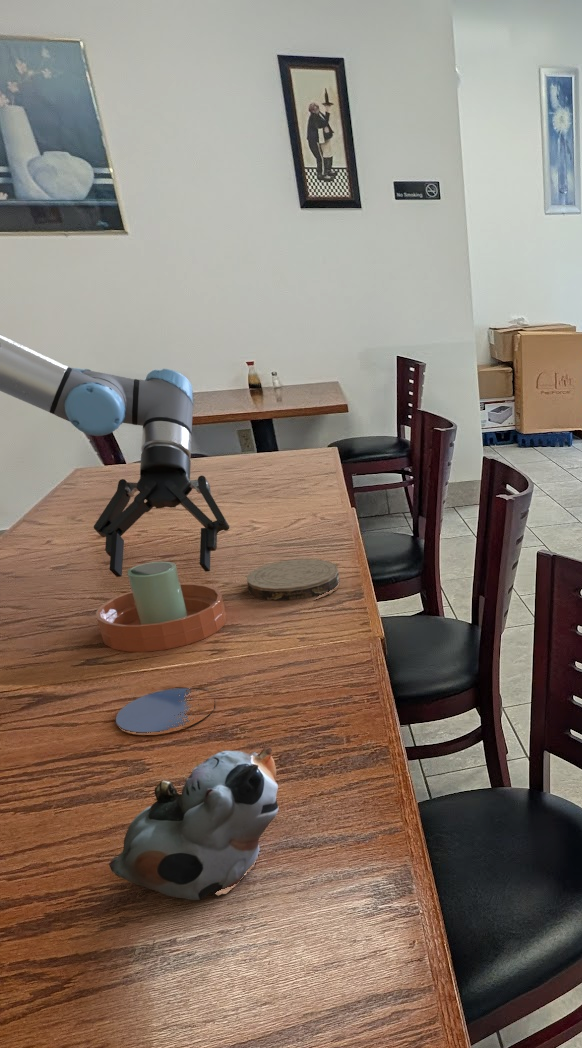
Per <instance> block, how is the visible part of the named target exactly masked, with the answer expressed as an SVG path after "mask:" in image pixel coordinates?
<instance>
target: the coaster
mask: <svg viewBox="0 0 582 1048" xmlns="http://www.w3.org/2000/svg"><path fill="white" fill-rule="evenodd" d="M189 688H191V689H192V688H193V687H176V688H169V689H164V690H163V689H162V690H158V691H154V692H151V693H147V694H146V695H143V696H140V697H137V698H136V699H134V700H132V701H130V702H129V703H127V704H125V705H124V706H123V707H122V708H121V709H119V711H118V712H117V714H116V716H115V724H116V726H117V725H118V727H120V728H121V729H123V730H125V731H130V732H136V733H147V732H148V733H149V732H150V733H151V732H160V731H164V730H168V729H170V728H173V727H179V725H180V724H182V726H183V723H186V722H189V721H190V720H189V721H188V720H187V719H188V718H187V717H188V716H189V715H188V716H186V717H185V716H184V715H185V714H186V711H187V710H188V708H189V706H186V705H189V704H190V703H189V704H186V702H187V699H186V701H184V700H185V698H186V696H185V693H186V695H188V694H189V693H188V692H189V691H190V690H189ZM186 690H187V691H188V692H186ZM196 691H197V690H196ZM190 693H191V691H190ZM179 695H180V696H179ZM184 696H185V698H184ZM189 696H190V695H189ZM187 698H189V697H187ZM190 699H191V698H190ZM179 701H180V702H179ZM181 701H182V702H181ZM188 701H189V700H188ZM187 703H188V702H187ZM184 704H185V705H184ZM198 705H199V704H198ZM185 706H186V707H185ZM190 706H191V705H190ZM187 707H188V708H187ZM190 708H191V707H190ZM185 709H187V710H185ZM184 710H185V712H184ZM189 710H190V709H189ZM180 712H181V713H180ZM182 712H183V713H182ZM187 712H188V711H187ZM189 712H190V711H189ZM184 713H185V714H184ZM178 714H179V715H178ZM180 714H181V715H180ZM174 715H175V716H174ZM186 715H187V714H186ZM181 716H182V717H181ZM183 716H184V717H183ZM190 716H191V715H190ZM177 717H178V718H177ZM179 717H180V718H179ZM183 718H187V719H185V720H187V721H185V722H184V719H183ZM177 719H178V720H177ZM182 719H183V720H182ZM169 720H170V721H169ZM171 720H172V721H171ZM193 720H194V719H193ZM180 721H181V722H180ZM182 721H183V722H182ZM176 722H177V723H176ZM178 722H179V723H178ZM178 724H179V725H178ZM172 725H173V726H172ZM174 725H175V726H174ZM184 725H185V724H184ZM166 726H167V727H166ZM168 726H169V727H168ZM180 726H181V725H180ZM118 727H117V728H118Z"/></svg>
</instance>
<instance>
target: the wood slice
mask: <svg viewBox="0 0 582 1048" xmlns="http://www.w3.org/2000/svg"><path fill="white" fill-rule="evenodd" d="M339 582H340V575H339V569H338V567H337V565H336V564H335V563H334V562H333V563H332V562H331V561H327V560H324V559H315V558H298V559H297V558H295V559H287V560H281V561H275V562H272V563H267V564H265V565H262V566H260V567H259V566H258V567H257V568H255V569H253V570H252V571H250V572H249V573H248V574H247V575H246V583H247V589H248V593H249V594H250V595H251V596H252V597H253V598H255V599H259V600H263V601H270V602H271V601H272V602H290V601H298V600H304V599H310V598H314V597H317V596H319V595H322V594H324V593H326V592H329V591H330V590H332V589H334V588H335V587H336V586H337V585H338V583H339ZM340 583H341V582H340Z"/></svg>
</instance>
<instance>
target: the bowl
mask: <svg viewBox="0 0 582 1048" xmlns="http://www.w3.org/2000/svg"><path fill="white" fill-rule="evenodd" d="M180 585H181V589H182V593H183V598H184V602H185V606H186V611H187V615H188V616H187V617H184V618H180V619H177V620H172V621H167V622H162V623H154V624H145V625H140V621H139V617H138V614H137V610H136V606H135V602H134V598H133V594H132V591H129V592H125V593H122V594H120V595H117V596H115V597H113V598H110V599H109V600H107V601H106V602H104V603H103V604H101V605H100V606H99V607H98V609H97V610H96V611H95V613H94V614H95V618H96V621H97V625H98V628H99V632H100V635H101V639H102V641H103V644H104V645H105V646H107V647H109V648H111V649H113V650H117V651H123V652H128V653H129V652H131V653H132V652H135V653H136V652H140V653H141V652H142V653H147V652H155V651H156V652H157V651H165V650H170V649H174V648H179V647H183V646H187V645H191V644H193V643H196V642H199V641H202V640H204V639H206V638H209V637H210V636H212V635H215V634H216V633H217V632H219V631H220V630H221V629H222V628H223V627H224V626H225V625H226V622H227V618H228V617H227V612H226V608H225V602H224V598H223V594H222V593H221V591H220V590H219V588H216V587H214V586H211V585H208V584H201V583H187V582H185V583H181V582H180Z"/></svg>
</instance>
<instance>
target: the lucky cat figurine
mask: <svg viewBox="0 0 582 1048" xmlns="http://www.w3.org/2000/svg"><path fill="white" fill-rule="evenodd" d="M272 752H273V749H272V746H271V745H269V746H267V747H264V748H262V750H261V751H260V752H259V753H257V752H255V751H253V752H251V753H249V752H245V751H241V750H223V751H220V752H217V753H215V754H213V755H212V756H210V757H208V758H206V759H205V760H204V761H202V762H201V763H200V764H198V765H196V766H195V767H193V769H192V772H191V773H190V774H189V776H188V777H187V778H186V780H185V783H184V786H183V787H182V791H181V794H180V793H178V790H177V789H176V787H175V785H174V784H173V783H172V782H171V781H169V780H161V781H160V782H159V783H158V784H157V785H156V786H155V787H154V796H155V799H156V801H155V802H154V803H152V805H150V806H148V807H146V808H145V809H144V810H143V811H141V812H140V813H139V814H137V815H136V816H135V818H133V820H132V821H131V823H130V824H129V826H128V827H127V830H126V832H125V836H124V839H123V849H122V851H121V853H119V854H118V856H114V857H113V858H112V860H110V861H109V863H108V866H109V868H110V871H111V872H112V873H113V874H114V875H115V876H116V877H119V878H121V879H123V880H125V881H128V882H130V883H132V884H135V885H138V886H140V887H143V888H146V889H149V890H152V891H155V892H159V893H160V894H161V895H164V896H167V897H173V898H177V899H178V898H179V899H184V900H190V901H200V900H203V899H204V898H206V896H208V895H209V894H211V893H212V894H213V895H215V893H216V892H217V891H219V890H221V889H225V888H227V887H231V886H233V885H234V884H237V883H238V882H239V881H240V879H241V878H242V877H243V876H244V874H245V873H246V871H247V870H248V869H249V868H250V867H251V866H252V865H253V864H254V862H255V861H256V859H257V856H258V854H259V855H260V852H259V851H261V848H260V846H259V845H260V844H259V839H260V838H261V836H262V835H263V833H264V832H265V830H266V829H267V828H268V826H269V825H270V824H271V822H272V821H273V820H274V819H275V817H276V816H277V815H278V811H279V809H280V808H279V805H278V801H277V794H278V789H279V785H278V783H277V781H276V779H277V767H276V762H275V760H274V758H273V756H272ZM240 882H241V881H240ZM240 882H239V883H240Z"/></svg>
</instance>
